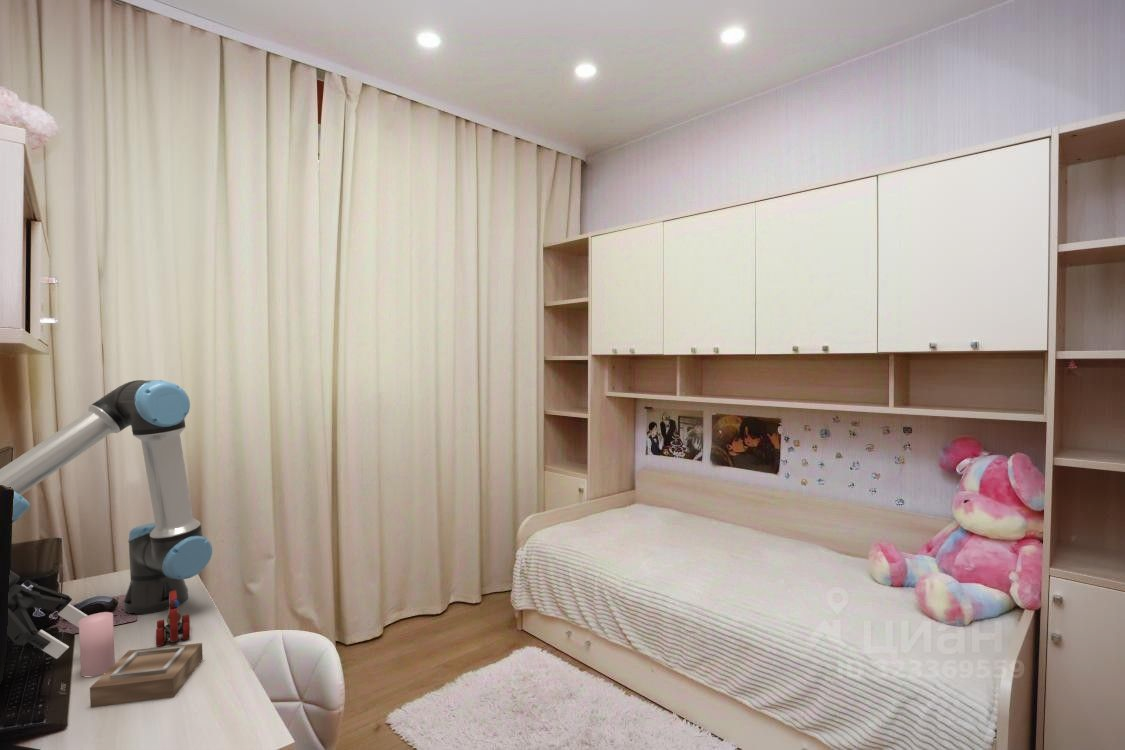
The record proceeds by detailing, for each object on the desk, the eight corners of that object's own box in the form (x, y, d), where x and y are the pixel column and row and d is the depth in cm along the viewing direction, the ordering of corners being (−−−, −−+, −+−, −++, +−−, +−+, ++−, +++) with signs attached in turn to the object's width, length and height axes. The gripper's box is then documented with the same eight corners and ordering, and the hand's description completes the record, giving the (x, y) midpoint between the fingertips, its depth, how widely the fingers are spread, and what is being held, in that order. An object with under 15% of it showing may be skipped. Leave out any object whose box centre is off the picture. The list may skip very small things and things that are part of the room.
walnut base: (129, 667, 131) (128, 646, 131) (202, 659, 134) (202, 639, 134) (90, 707, 116) (89, 683, 116) (173, 697, 119) (172, 674, 119)
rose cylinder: (90, 664, 132) (88, 613, 132) (120, 661, 133) (118, 610, 133) (74, 679, 126) (72, 625, 126) (105, 675, 127) (103, 622, 127)
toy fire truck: (156, 652, 138) (154, 609, 137) (157, 632, 148) (155, 592, 147) (190, 644, 141) (189, 602, 141) (189, 624, 152) (188, 585, 151)
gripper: (1, 575, 132) (84, 627, 138) (-69, 621, 109) (34, 682, 115) (30, 549, 134) (110, 602, 140) (-33, 589, 111) (66, 650, 117)
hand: (76, 638), depth 128 cm, fingers open, 13 cm apart
